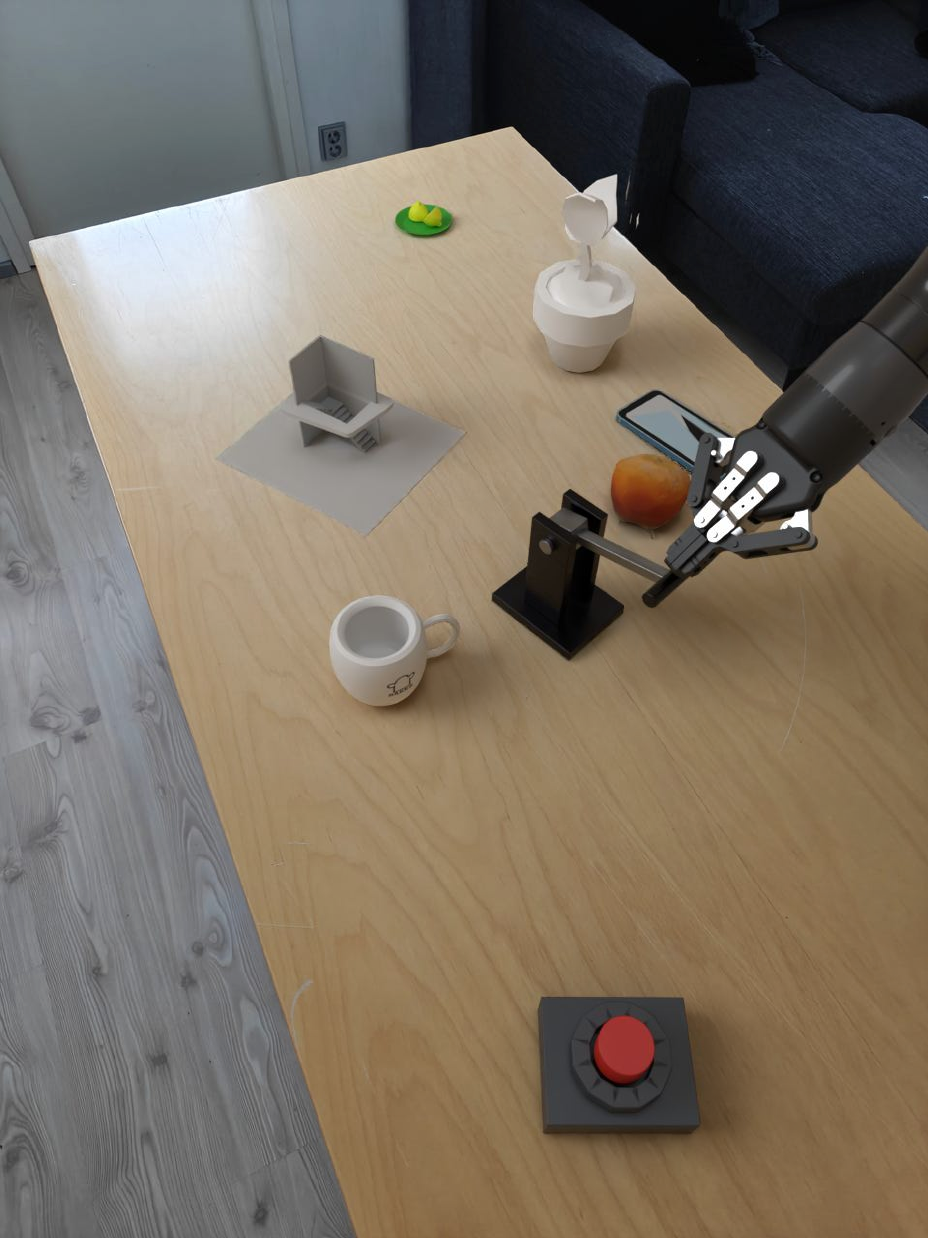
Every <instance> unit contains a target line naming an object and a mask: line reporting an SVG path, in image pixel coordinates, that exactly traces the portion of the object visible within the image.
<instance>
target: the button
mask: <svg viewBox="0 0 928 1238" xmlns="http://www.w3.org/2000/svg"><path fill="white" fill-rule="evenodd" d="M654 1054H655V1045H654V1040H653V1037H652V1034H651V1033H650V1031H649V1029H648V1028H647V1027H646V1026H645V1025H644V1024H643V1023H642V1022H641V1021H639V1020H638V1019H636V1018H634V1017H631V1016H617V1017H614V1018H612V1019H610V1020H609V1021H607V1022H606V1023H605V1025H604V1026H603V1027H602V1029H601V1031H600V1033H599V1035H598V1037H597V1039H596V1042H595V1045H594V1057H595V1061H596V1064H597V1066H598V1068H599V1069H600V1071H601V1072H602V1073H603V1075H605V1076H606V1077H607V1078H608V1079H610V1080H612V1081H614V1082H616V1083H621V1084H627V1083H632V1082H634V1081H636V1080H638V1079H639V1078H640V1077H641V1076H642V1075H643V1074H644V1073H645V1071H646V1070H647V1069H648V1067H649V1066H650V1064H651V1063H652V1061H653V1058H654Z"/></svg>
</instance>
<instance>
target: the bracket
mask: <svg viewBox="0 0 928 1238" xmlns="http://www.w3.org/2000/svg"><path fill="white" fill-rule="evenodd" d="M563 507H564V508H566V509H568V510H570V511H573V512H575V513H577V514H579V515H581V516H583V517H585V518H587V519H588V530H589V531H591V532H593V533H595V534H597V535H599V536H601V537H603V538H605V533H606V527H607V523H608V516H609V513H607V512H606V511H604V510H603V509H601V508H600V507H598V506H597V505H595V504H594V503H593V502H591V501H589V500H588V499H586V497H583V496H582V495H581V494H579V493H578V492H576V491H574V490H573V489H572V488H569V489H567V490H566V491H565V492H563V494H562V499H561V506H560V510H561V509H562V508H563ZM549 518H550V517H548V516H546V515H545V514H543V513H542V511H538V512H537V513H535V514H534V515H533V516H532V517H531V523H530V534H529V544H528V555H527V564H526V566H525V567H523V568H522V569H521V570H520V571H519V572H516V574H514V576H512V577H511V578H509V579H508V580H507V581H506V582H504V583H503V584H502V585H501V586H499V587H498V588H497V589H495V590H494V591H493V592H491V602H492V603H494V604H495V605H496V606H497V607H499V608H501V609H502V610H503V611H504V612H505V613H506V614H508V615H509V616H511V618H513V619H514V620H515V621H517V622H518V623H519V624H520V625H522V626H523V627H525V628H526V629H527V630H529V631H530V632H531V633H532V634H534V635H535V636H536V637H537V638H539V639H540V640H541V641H542V642H544V643H545V644H546V645H548V646H549V648H552V649H553V650H554V651H556V652H557V654H559V655H561V656H562V657H563V658H564V659H566V660H567V661H570V660H572V659H573V658H574V657H575V656H576V655H578V653H579V652H581V651H582V650H583V649H584V648H585V647H586V646H588V644H590V643H591V642H592V641H594V639H596V638H597V637H598V636H599V635H600V634H601V633H602V632H603V631H605V630H606V629H607V628H608V627H609V626H611V625H612V624H613V623H614V622H616V620H617V619H618V618H619V617H620V616H622V615H623V614H624V611H625V606H626V605H624V603H622V602H620V601H619V600H618V599H616V598H615V597H614V596H612V595H611V594H609V593H608V592H606V591H605V590H604V589H603V588H601V587H599V586H598V585H597V584H596V580H597V574H598V571H599V570H598V569H599V565H600V561H601V559H600V558H601V555H599V554H597V553H595V552H593V551H591V550H589V549H587V548H585V547H583V546H580V547H579V548H578V549H577V550H576V547H577V540H578V538H576V537H575V536H574V535H572V534H571V533H569V532H568V531H566V530H565V529H564V528H562V527H561V526H559V525H558V524H557V523H555V522H554V521H552V520H551V519H549Z"/></svg>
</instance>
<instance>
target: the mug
mask: <svg viewBox="0 0 928 1238" xmlns="http://www.w3.org/2000/svg"><path fill="white" fill-rule="evenodd" d="M440 623H447V624H449V625H450V626H451V634H450V636H449V638H448V639H447V640H446V642H445V643H443V644H441V645H440V646H438V647H435V648H432V649H428V637H427V633H426V629H428V628H431V627H432V626H434V625H436V624H440ZM460 634H461V626H460V622H459V621H458V619H457V618H455V617H454V616H453V615H451V614H447V613H441V614H435V615H432V616H431V617H428V618H426V619H424V620H422V618H421V617H420V615H419V614H418V613H417V612H416V610H415V609H413V608H412V606H410V605H409V604H408V603H407V602H405V601H404V600H402V599H400V598H397V597H394V596H390V595H383V594H374V595H368V596H364V597H360V598H358V599H355V600H353V601H352V602H350V603H348V604H347V605H346V606H344V607H343V608H342V609H341V610H340V612H339V613H338V614H337V616H336V617H335V619H334V621H333V622H332V625H331V627H330V631H329V644H328V649H329V657H330V663H331V665H332V669H333V671H334V674H335V676H336V678H337V680H338V681H339V683H340V685H341V686H342V687H343V688H344V689H345V691H346V692H347V693H348V695H350V696H351V697H353V698H355V700H357V701H359V702H360V703H362V704H365V705H368V706H373V707H388V706H393V705H395V704H398V703H400V702H402V701H403V700H405V699H407V698H408V697H409V696H410V695H411V694H412V693H413V692H414V691H415V689H417V687H418V685H419V684H420V682H421V680H422V678H423V676H424V672H425V670H426V667H427V661H428V659H430V658H435V657H438V656H441V655H443V654H444V653H446V652H448V651H450V650H451V649H452V648H453V647H454V646H455V645H456V643H457V642H458V640H459V638H460Z"/></svg>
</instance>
